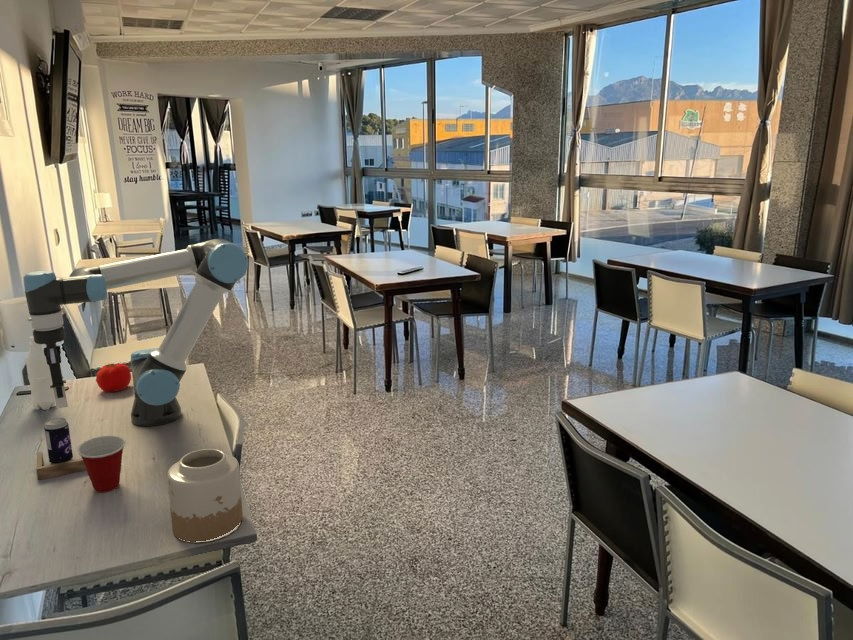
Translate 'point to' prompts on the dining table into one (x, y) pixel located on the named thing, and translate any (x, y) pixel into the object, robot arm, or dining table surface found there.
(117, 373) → the tomato
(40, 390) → the water bottle
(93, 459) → the plastic cup
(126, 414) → the dining table surface
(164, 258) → the robot arm
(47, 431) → the beverage can
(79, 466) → the corral
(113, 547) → the dining table surface
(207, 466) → the vase
